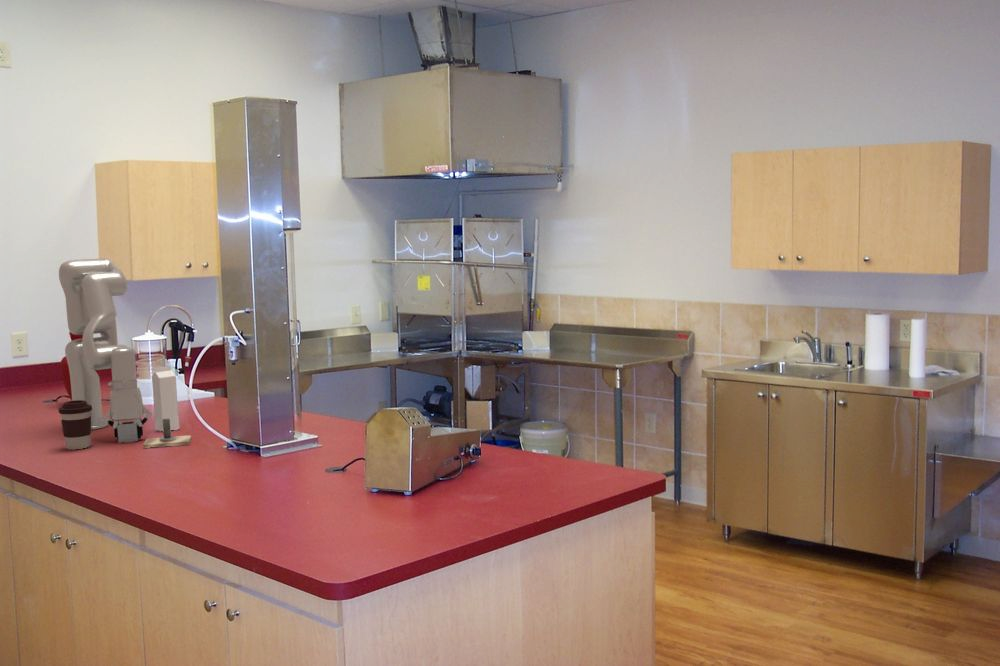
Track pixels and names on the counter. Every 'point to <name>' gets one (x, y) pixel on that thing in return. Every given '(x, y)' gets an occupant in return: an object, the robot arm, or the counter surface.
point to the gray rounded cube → (127, 431)
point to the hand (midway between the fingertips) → (129, 438)
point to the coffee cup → (76, 424)
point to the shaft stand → (167, 438)
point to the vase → (65, 368)
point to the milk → (165, 398)
